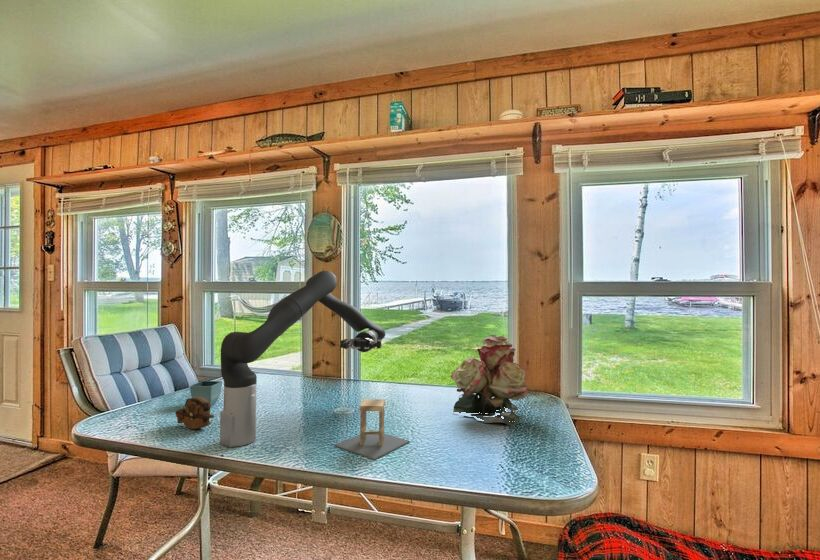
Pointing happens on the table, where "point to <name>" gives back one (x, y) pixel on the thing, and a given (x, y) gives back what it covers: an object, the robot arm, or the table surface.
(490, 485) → the table surface
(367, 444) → the charcoal mat
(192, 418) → the wooden carving
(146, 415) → the table surface
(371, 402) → the pine stool
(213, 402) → the flower pot
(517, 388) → the rose bouquet
